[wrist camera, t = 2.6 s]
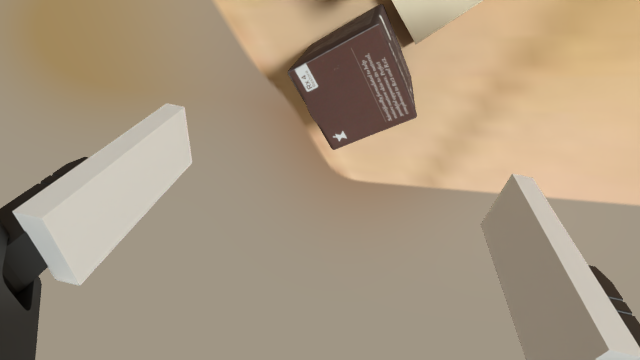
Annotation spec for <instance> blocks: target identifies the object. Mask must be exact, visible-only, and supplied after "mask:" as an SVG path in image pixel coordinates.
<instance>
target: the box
mask: <svg viewBox="0 0 640 360" xmlns="http://www.w3.org/2000/svg"><path fill="white" fill-rule="evenodd" d="M288 75H289V77H290V78H291V80H292V82H293V83H294V85H295V87H296V89H297V90H298V92H299V94H300V95H301V97H302V98H303V100H304V102H305V104H306V105H307V108H308V110H309V113H310V115H311V116H312V118H313V119H314V121H315V122H316V123H317V124H318V126H319V128H320V129H321V131H322V133H323V135H324V136H325V138H326V140H327V142H328V143H329V145H330V147H331V148H332V149H333V150H335V149H338V148H340V147H343V146H345V145H348V144H350V143H353V142H355V141H357V140H360V139H363V138H365V137H368V136H370V135H373V134H375V133H378V132H380V131H383V130H386V129H388V128H391V127H393V126H396V125H399V124H401V123H404V122H406V121H409V120H411V119H414V118H416V117H417V114H416V110H415V103H414V95H413V87H412V81H411V75H410V73H409V70H408V67H407V65H406V62H405V59H404V56H403V54H402V51H401V48H400V45H399V43H398V41H397V38H396V36H395V33H394V31H393V29H392V26H391V23H390V21H389V19H388V16H387V13H386V11H385V8H384V6H383V5H382V4H380V5H378V6H376V7H375V8H373V9H371V10H369V11H368V12H366V13H364V14H363V15H361V16H359V17H358V18H356V19H354V20H353V21H351V22H349V23H347V24H346V25H344V26H342V27H341V28H339V29H337V30H336V31H334V32H332V33H331V34H329V35H327V36H325V37H324V38H322V39H320V40H319V41H317V42H315V43H313V44H312V45H311V46H310V47H309V48H308V49H307V50H306V51H305V52H304V54H303V55H302V56H301V57H300V58H299V59H298V61H297V62H296V63H295V64H294V65H293V66H292V67H291V68H290V70H289V71H288Z"/></svg>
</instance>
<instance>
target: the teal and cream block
mask: <svg viewBox="0 0 640 360" xmlns="http://www.w3.org/2000/svg"><path fill="white" fill-rule="evenodd" d="M482 1H483V0H392V2H393V4H394V6H395V7H396V9H397V11H398V13H399V15H400V16H401V18H402V20H403V22H404V24H405V25H406V27H407V29H408V31H409V33H410V35H411V36H412V38H413V40H414V42H415V44H417V43H419V42H420V41H422V40H423V39H425V38H427V37H428V36H430V35H431V34H433V33H434V32H436V31H437V30H439V29H440V28H442V27H443V26H445V25H446V24H448V23H449V22H451V21H452V20H454V19H456V18H457V17H459V16H460V15H462V14H463V13H465V12H466V11H468V10H469V9H471V8H472V7H474V6H475V5H477V4H478V3H480V2H482Z"/></svg>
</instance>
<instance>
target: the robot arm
mask: <svg viewBox="0 0 640 360" xmlns="http://www.w3.org/2000/svg"><path fill="white" fill-rule="evenodd" d="M191 163H192V157H191V150H190V144H189V136H188V129H187V121H186V115H185V108H184V107H182V106H177V105H172V104H167V103H166V104H165V105H164V106H162V107H161V108H159V109H158V110H157V111H155V112H153V113H152V114H151V115H149V116H148V117H146V118H145V119H143V120H142V121H141V122H139V123H138V124H137V125H135V126H133V127H132V128H131V129H129V130H128V131H126V132H125V133H124V134H122V135H121V136H119V137H118V138H117V139H115V140H114V141H112V142H111V143H109V144H108V145H106V146H105V147H103V148H102V149H101V150H99V151H98V152H96V153H95V154H93V155H92V156H91V157H89V158H88V157H83V158H81V159H78V160H76V161H73V162H71V163H68V164H66V165H65V166H63V167H62V168H60V169H59V170H57V171H56V172H54V173H53V175H52V176H48V177H47V178H45V179H44V180H42V181H41V184H36V185H35V186H33V187H32V188H31V189H29V190H27V191H26V192H24V193H23V194H21V195H20V196H18V197H17V198H15V199H14V200H12V201H11V202H10V203H8V204H7V205H5V206H3V207H2V208H1V209H0V360H35V354H36V343H37V331H38V320H39V307H40V297H41V285H42V284H41V280H40V278H39V277H38V276H39V275H40V274H41V273H42V272H43V270H45V269H46V268H47V267H48V269H49V270H50V272H51V273H52V275H53V277H54V278H55V280H59V281H63V282H67V283H71V284H75V285H79V286H80V285H81V284H82V283H83V282H84V281H85V280H86V278H87V277H88V276H89V275H90V274H91V273H92V272H93V271H94V270H95V268H96V267H97V266H98V265H99V264H100V263H101V262H102V261H103V260H104V259H105V258H106V256H107V255H108V254H109V253H110V252H111V251H112V250H113V249H114V248H115V247H116V246H117V244H118V243H119V242H120V241H121V240H122V239H123V238H124V237H125V236H126V235H127V233H128V232H129V231H130V230H131V229H132V228H133V227H134V226H135V225H136V224H137V223H138V221H139V220H140V219H141V218H142V217H143V216H144V215H145V214H146V213H147V212H148V211H149V209H150V208H151V207H152V206H153V205H154V204H155V203H156V201H158V200H159V198H160V197H161V196H162V195H163V194H164V193H165V192H166V191H167V190H168V189H169V188H170V187H171V185H172V184H173V183H174V182H175V181H176V180H177V179H178V178H179V177H180V176H181V174H182V173H183V172H184V171H185V170H186V169H187V168H188V167H189V166H190V165H191ZM481 227H482V230H483V233H484V236H485V239H486V242H487V245H488V248H489V251H490V254H491V257H492V260H493V263H494V266H495V268H496V272H497V275H498V278H499V281H500V284H501V287H502V290H503V292H504V295H505V298H506V301H507V305H508V308H509V310H510V313H511V317H512V319H513V323H514V325H515V329H516V332H517V335H518V337H519V340H520V343H521V346H522V349H523V352H524V355H525V358H526V360H640V324H639V322H638V321H637V319H636V318H635V316H632V312H631V310H630V309H629V307H628V306H627V304H626V303H625V302H623V301H622V300H623V298H622V297H621V295H620V294H619V292H618V291H617V290H616V288H615V287H614V285H613V284H612V282H611V281H610V280H609V279H608V278H606V276H605V275H604V274H602V273H601V272H600V271H599V270H598V269H597V268H596V267H593V266H589V265H587V263H586V261H585V260H584V258H583V257H582V255H581V254H580V252H579V250H578V249H577V247H576V246H575V244H574V243H573V241H572V239H571V238H570V236H569V234H568V233H567V231H566V230H565V228H564V226H563V225H562V223H561V222H560V220H559V219H558V217H557V215H556V214H555V212H554V211H553V209H552V207H551V206H550V204H549V203H548V201H547V200H546V198H545V196H544V195H543V193H542V192H541V190H540V188H539V187H538V185H537V184H536V182H535V180H534V179H533V178H532V177H527V176H522V175H517V174H512V175H511V177H510V178H509V180H508V181H507V183H506V185H505V186H504V188H503V189H502V191H501V193H500V194H499V196H498V197H497V199H496V201H495V202H494V204H493V206H492V207H491V209H490V210H489V212H488V213H487V215H486V217H485V218H484V220H483V221H482V223H481Z"/></svg>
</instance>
